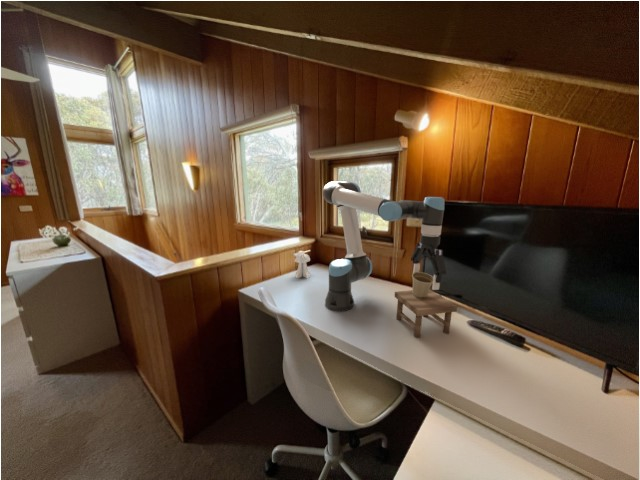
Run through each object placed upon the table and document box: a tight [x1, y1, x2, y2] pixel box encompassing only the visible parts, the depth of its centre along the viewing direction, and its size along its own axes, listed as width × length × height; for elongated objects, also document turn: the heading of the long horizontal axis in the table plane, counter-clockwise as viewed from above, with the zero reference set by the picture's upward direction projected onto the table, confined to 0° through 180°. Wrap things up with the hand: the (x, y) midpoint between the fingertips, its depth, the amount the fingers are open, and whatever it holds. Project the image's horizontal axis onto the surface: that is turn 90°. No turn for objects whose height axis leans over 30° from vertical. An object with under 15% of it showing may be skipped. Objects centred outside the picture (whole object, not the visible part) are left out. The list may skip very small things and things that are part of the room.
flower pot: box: [411, 271, 434, 298], centre depth 109 cm, size 9×9×9 cm
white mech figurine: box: [292, 249, 311, 279], centre depth 169 cm, size 12×13×18 cm
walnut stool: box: [394, 288, 458, 339], centre depth 108 cm, size 18×18×13 cm
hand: (424, 283), depth 106 cm, fingers open, 13 cm apart
